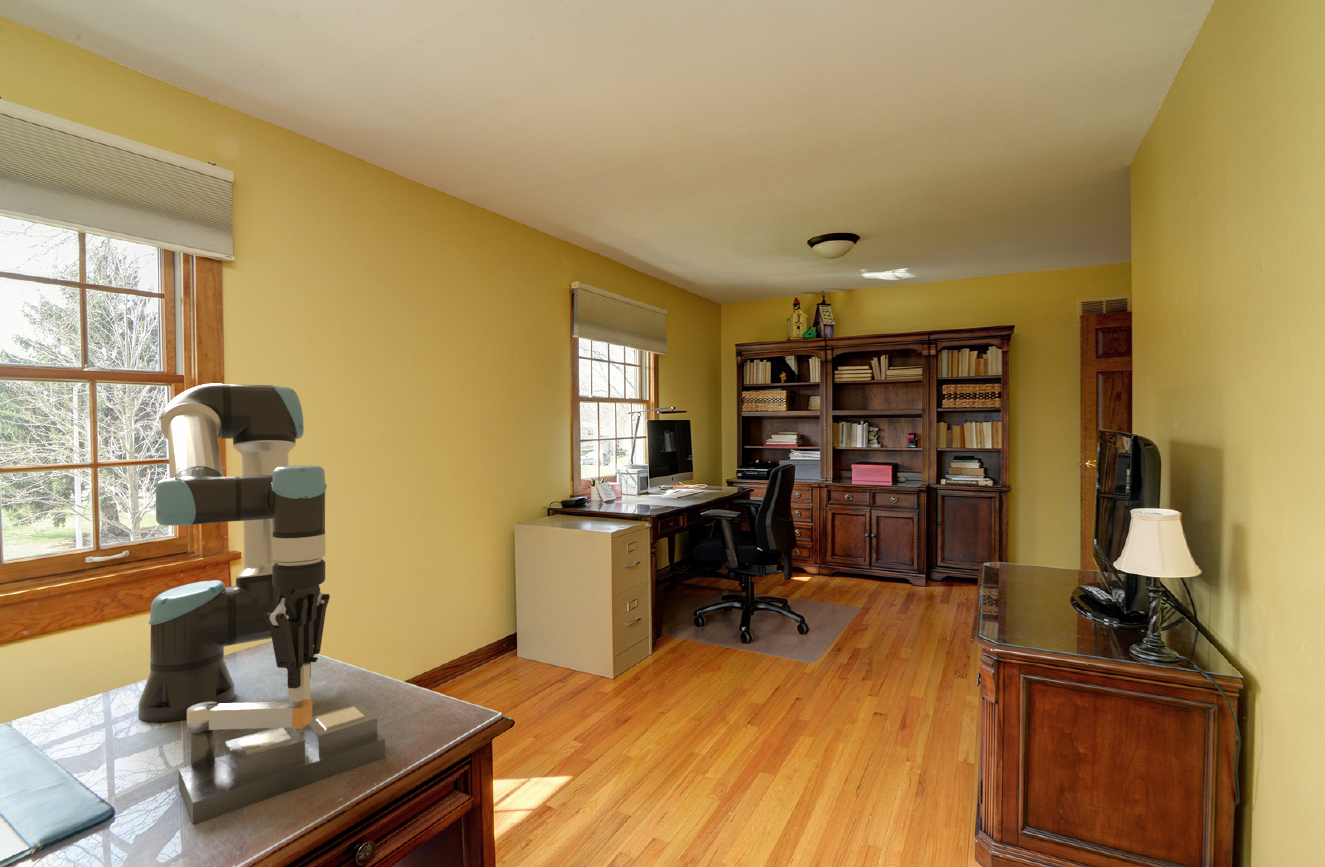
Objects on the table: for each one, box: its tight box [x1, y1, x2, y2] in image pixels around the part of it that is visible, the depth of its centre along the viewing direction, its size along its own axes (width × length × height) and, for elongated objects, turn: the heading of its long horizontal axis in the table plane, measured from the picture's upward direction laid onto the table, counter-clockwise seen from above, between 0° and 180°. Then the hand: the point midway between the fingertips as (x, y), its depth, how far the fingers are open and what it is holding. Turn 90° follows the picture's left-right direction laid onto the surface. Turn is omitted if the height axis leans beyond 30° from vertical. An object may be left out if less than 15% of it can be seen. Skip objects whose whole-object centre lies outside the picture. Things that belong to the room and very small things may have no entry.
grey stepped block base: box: [178, 702, 386, 825], centre depth 102 cm, size 14×26×8 cm, turn 135°
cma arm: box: [186, 698, 313, 734], centre depth 99 cm, size 18×4×3 cm, turn 95°
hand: (299, 704), depth 104 cm, fingers closed
